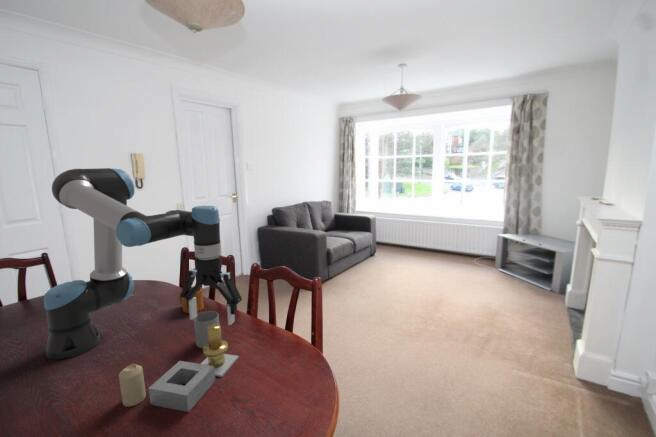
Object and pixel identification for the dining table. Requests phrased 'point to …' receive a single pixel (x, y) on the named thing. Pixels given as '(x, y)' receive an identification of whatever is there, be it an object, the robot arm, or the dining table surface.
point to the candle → (132, 385)
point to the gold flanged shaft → (215, 346)
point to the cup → (204, 326)
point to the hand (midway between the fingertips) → (212, 320)
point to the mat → (225, 367)
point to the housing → (179, 396)
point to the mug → (198, 300)
